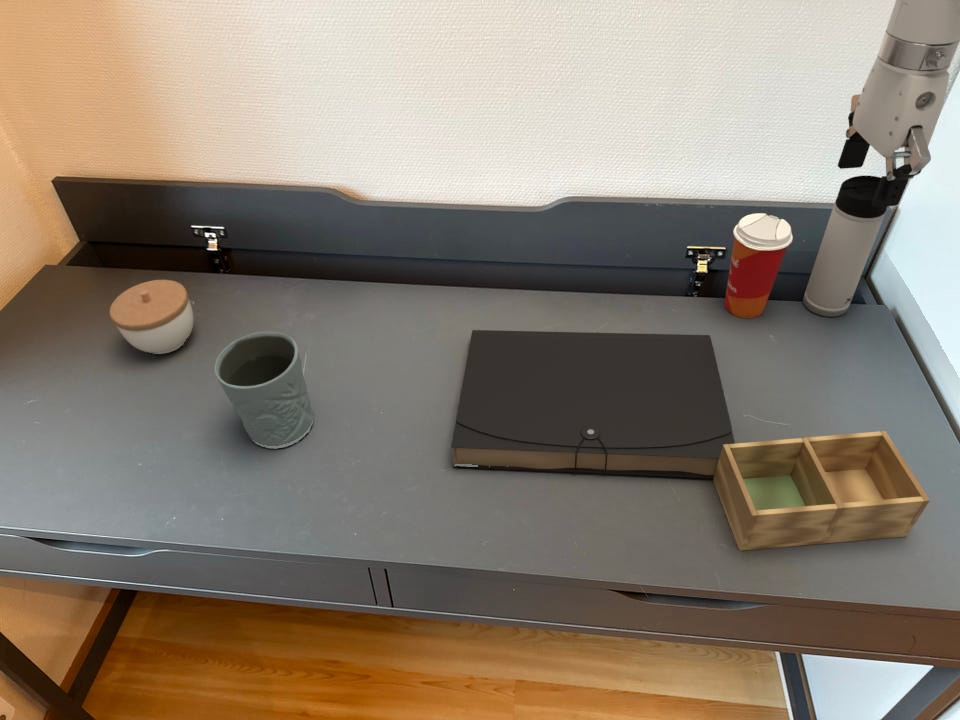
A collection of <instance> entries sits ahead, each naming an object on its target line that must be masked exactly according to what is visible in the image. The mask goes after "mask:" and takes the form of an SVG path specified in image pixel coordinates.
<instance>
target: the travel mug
mask: <svg viewBox="0 0 960 720" xmlns="http://www.w3.org/2000/svg"><path fill="white" fill-rule="evenodd" d="M880 180H881V177H880V176H876V175H857V176H852V177H849V178H847V179H846V180H844V181H843V182H842V183H841V184H840V188H839V191H838V193H837V197H836V199H835V201H834V203H833V206H832V210H831V213H830V216H829V218H828V222H827V225H826V228H825V231H824V235H823V237H822V240H821V242H820V246H819V249H818V252H817V254H816V255H817V256H816V257H815V261H814V264H813V268H812V270H811V273H810V277H809V279H808V282H807V286H806V289H805V291H804V294H803V297H802V302H803V305H804V306H805V308H807V309H808V310H809V311H810V312H812V313H814V314H816V315H818V316H821V317H828V318H836V317H840V316H842V315H844V314H846V313H847V312H848V310H849V308H850V305H851V302H852V301H853V297H854V295H855V293H856V290H857V287H858V284H859V282H860V280H861V277H862V275H863V272H864V269H865V267H866V264H867V262H868V260H869V257H870V255H871V252H872V250H873V247H874V245H875V241H876V239H877V236H878V234H879V231H880V229H881V226H882V224H883V221H884V218H885V215H886V214H887V209H888V206H885V207H874V206H873V205H872V200H873V198H874V195H875V193H876V190H877V187H878V185H879V182H880Z"/></svg>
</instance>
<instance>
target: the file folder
mask: <svg viewBox="0 0 960 720" xmlns="http://www.w3.org/2000/svg"><path fill="white" fill-rule="evenodd" d="M466 356H467V357H466V361H465V367H464V373H463V379H462V384H461V389H460V395H459V398H458V399H459V400H458V405H457V411H456V417H455V423H454V429H453V435H452V440H451V445H450V448H451V454H452V461H453V465H455V464H472V465H478V467H477V468H476V469H489V470H491V469H490V468H493V469H492V470H511V471H516V470H517V471H535V472H536V471H537V472H558V473H574V475H576V474H577V473H580V474H600V475H602V474H603V475H604V476H606V475H625V476H626V475H627V476H648V477H670V478H671V477H672V478H693V479H696V478H697V479H714V475H715V472H716V468H717V465H718V461H719V457H720V454H721V450H722V447H723V444H736V441H735V437H734V433H733V427H732V423H731V418H730V413H729V409H728V405H727V400H726V397H725V392H724V389H723V384H722V379H721V376H720V372H719V371H720V370H719V367H718V362H717V358H716V354H715V350H714V346H713V340H712V338H711V335H710V334H680V333H679V334H676V333H675V334H673V333H632V332H631V333H627V332H625V333H624V332H622V333H621V332H585V331H583V332H582V331H581V332H580V331H579V332H578V331H540V330H539V331H536V330H535V331H534V330H533V331H532V330H494V329H493V330H490V329H487V330H486V329H472V330H471V334H470V340H469V346H468V351H467V355H466ZM489 466H490V467H489ZM507 466H508V467H507Z"/></svg>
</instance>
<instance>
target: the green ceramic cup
mask: <svg viewBox="0 0 960 720" xmlns="http://www.w3.org/2000/svg"><path fill="white" fill-rule="evenodd" d="M302 366H303V365H302V360H301V356H300V351H299V347H298V344H297V343H296V341H295V340H294V339H293V338H292V337H291V336H289V335H288V334H285V333H282V332H278V331H259V332H254V333H249V334H246V335H245V336H242V337H239V338H237V339H235V340H234V341H232V342H231V343H229V344H228V345H227V346H225V348H223V349H222V351H220V353H219V354H218V356H217V357H216V360H215V364H214V367H213V369H214V375H215V377H216V379H217V381H218V383H219V384H220V387H222V389H223V391H224V393H225V394H226V396H227V398H228V400H229V402H230V403H231V404H232V405H233V406H234V409H235V411H236V413H237V414H238V416H239V418H240V420H241V422H242V425H243V427H244V429H245V431H246V433H247V435H248V436H249V438H250V437H251V438H250V440H251V439H252V440H254V441H255V442H257V443H259V444H262V445H267V446H279V445H283V444H287V443H290V442H292V441H294V440H296V439H298V438H299V437H300V436H302V435H303V434H304V433H305V432H306V431H307V430H308V428H309V427H310V425H311V423H312V420H313V414H314V410H313V406H312V402H311V400H310V396H309V394H308V393H309V392H308V389H307V388H308V387H307V384H306V380H305V377H304V376H305V375H304V373H303V367H302ZM252 440H251V441H252Z"/></svg>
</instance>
